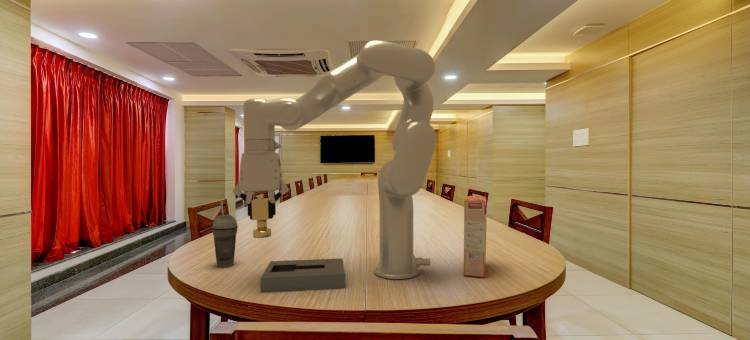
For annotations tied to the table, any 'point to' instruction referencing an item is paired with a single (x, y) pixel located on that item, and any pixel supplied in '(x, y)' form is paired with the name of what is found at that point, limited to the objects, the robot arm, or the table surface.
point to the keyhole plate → (303, 275)
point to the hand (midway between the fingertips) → (262, 217)
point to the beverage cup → (224, 239)
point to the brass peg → (261, 217)
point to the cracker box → (475, 236)
